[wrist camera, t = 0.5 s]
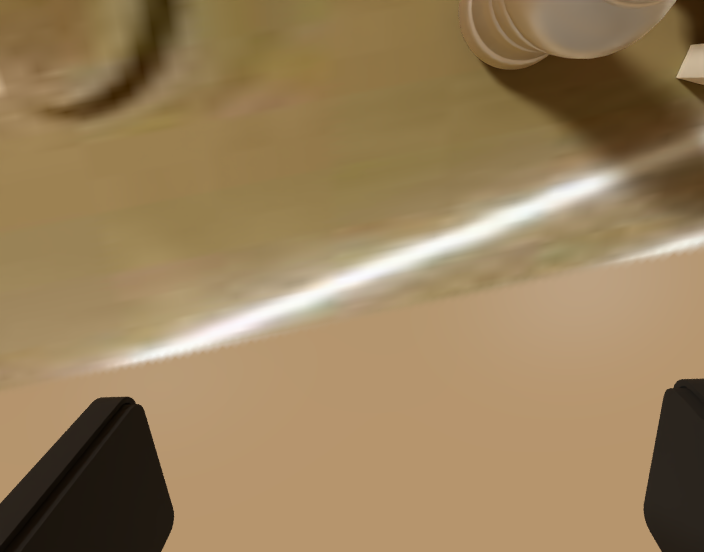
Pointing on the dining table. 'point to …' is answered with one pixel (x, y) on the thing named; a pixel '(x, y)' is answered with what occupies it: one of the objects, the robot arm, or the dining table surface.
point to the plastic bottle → (554, 28)
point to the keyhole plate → (693, 65)
